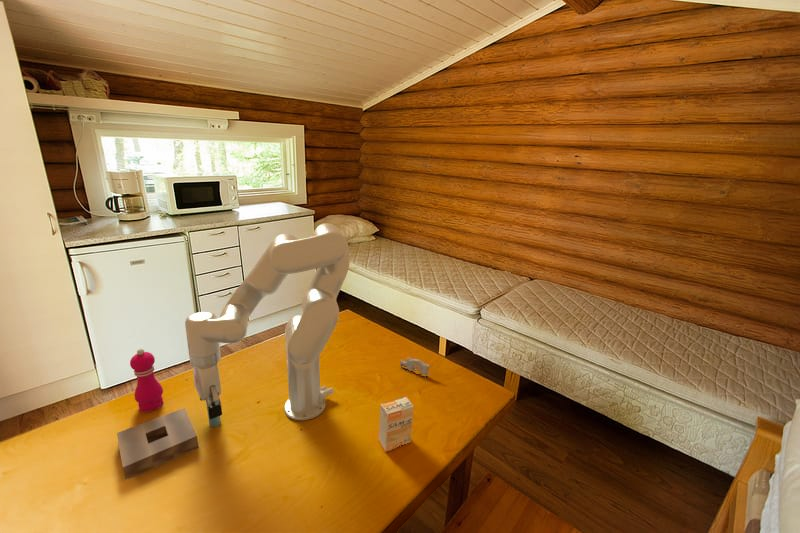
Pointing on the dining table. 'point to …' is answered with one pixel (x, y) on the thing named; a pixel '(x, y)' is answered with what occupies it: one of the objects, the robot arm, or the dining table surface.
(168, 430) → the walnut hole block
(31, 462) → the dining table surface
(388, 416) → the supplement box
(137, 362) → the pepper mill
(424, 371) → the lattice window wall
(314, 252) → the robot arm
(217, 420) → the teal peg
